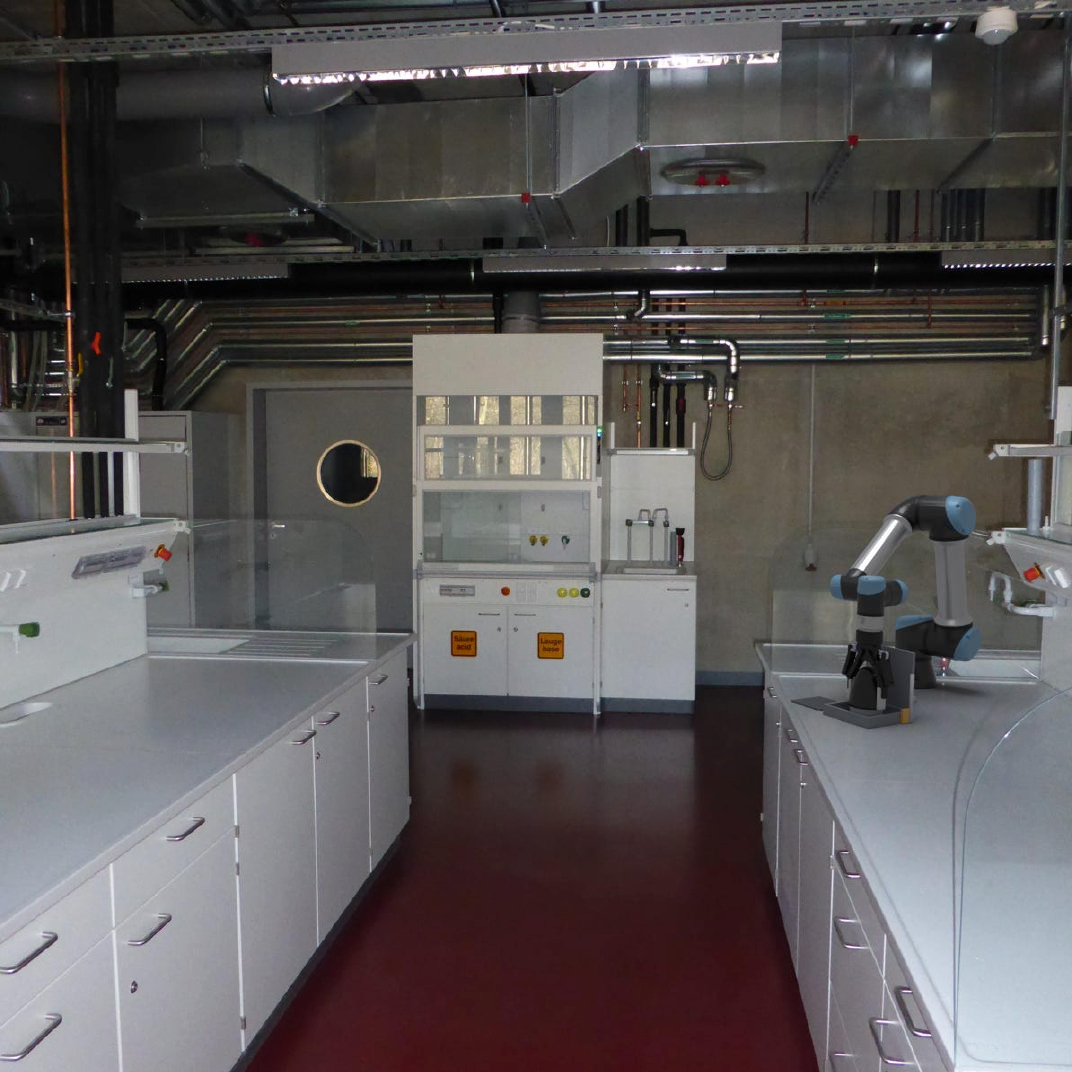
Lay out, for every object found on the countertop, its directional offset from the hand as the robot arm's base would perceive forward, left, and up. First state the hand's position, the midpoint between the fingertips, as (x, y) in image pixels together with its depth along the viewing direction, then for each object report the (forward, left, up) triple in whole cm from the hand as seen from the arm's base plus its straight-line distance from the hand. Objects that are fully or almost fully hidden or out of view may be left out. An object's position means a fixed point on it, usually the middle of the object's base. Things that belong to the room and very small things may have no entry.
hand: (866, 704), depth 278 cm
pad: (+1, -17, -4) cm, 18 cm away
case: (0, 0, -4) cm, 4 cm away
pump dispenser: (0, 0, -4) cm, 4 cm away
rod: (-26, -11, -2) cm, 28 cm away
